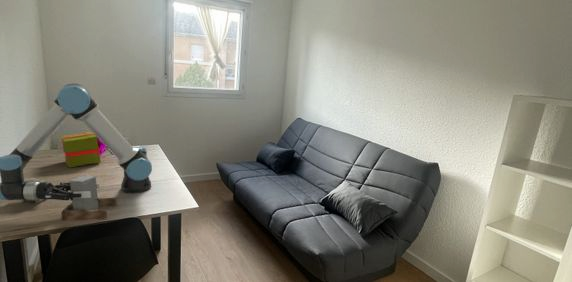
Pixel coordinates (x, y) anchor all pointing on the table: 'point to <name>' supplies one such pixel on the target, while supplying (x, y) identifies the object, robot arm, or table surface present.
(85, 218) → the walnut u-shaped frame
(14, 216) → the table surface
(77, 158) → the gift box
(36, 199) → the grey ribbed rounded piece
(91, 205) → the skincare box
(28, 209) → the table surface
